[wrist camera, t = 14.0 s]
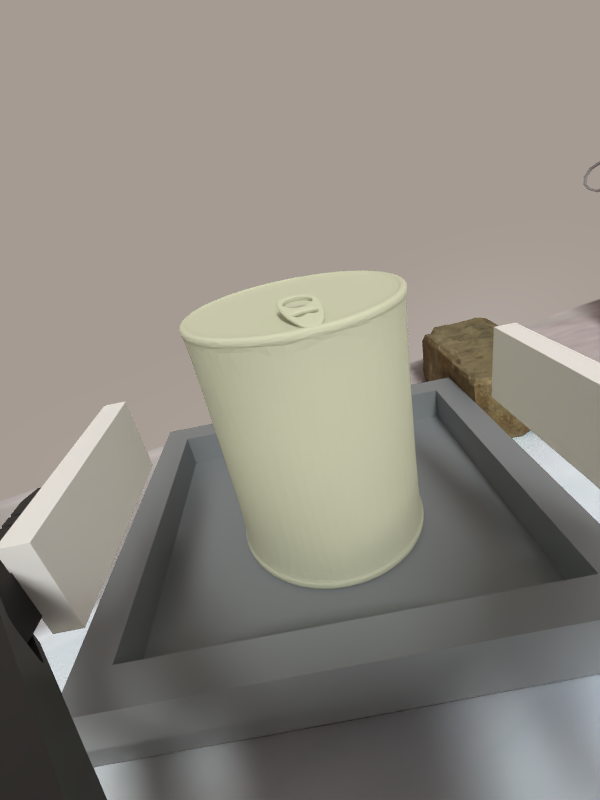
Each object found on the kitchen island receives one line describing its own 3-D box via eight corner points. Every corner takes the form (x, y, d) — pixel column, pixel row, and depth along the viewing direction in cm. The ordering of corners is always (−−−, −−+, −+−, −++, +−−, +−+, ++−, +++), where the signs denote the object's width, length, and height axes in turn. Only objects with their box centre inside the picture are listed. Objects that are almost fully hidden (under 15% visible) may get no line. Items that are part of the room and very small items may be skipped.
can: (257, 618, 17) (161, 349, 12) (241, 486, 25) (180, 292, 20) (461, 553, 18) (458, 277, 13) (381, 446, 26) (359, 251, 21)
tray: (88, 767, 14) (49, 722, 13) (183, 466, 30) (170, 432, 29) (661, 662, 14) (682, 604, 13) (450, 414, 30) (449, 377, 29)
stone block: (483, 366, 36) (485, 311, 34) (568, 434, 26) (578, 362, 24) (419, 379, 36) (416, 325, 34) (478, 451, 26) (479, 381, 24)
